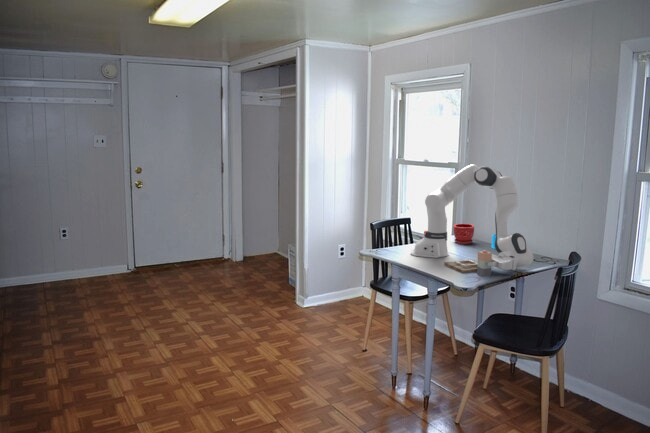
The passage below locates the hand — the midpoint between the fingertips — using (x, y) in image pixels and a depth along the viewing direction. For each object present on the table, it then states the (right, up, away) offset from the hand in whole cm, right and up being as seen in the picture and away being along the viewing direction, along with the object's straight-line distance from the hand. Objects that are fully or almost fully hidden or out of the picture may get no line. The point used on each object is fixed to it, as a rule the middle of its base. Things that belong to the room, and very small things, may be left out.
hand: (483, 262), depth 270 cm
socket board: (-4, -4, +15) cm, 16 cm away
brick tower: (+1, -6, +1) cm, 7 cm away
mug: (+30, +4, +60) cm, 68 cm away
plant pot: (+10, +6, +76) cm, 77 cm away
